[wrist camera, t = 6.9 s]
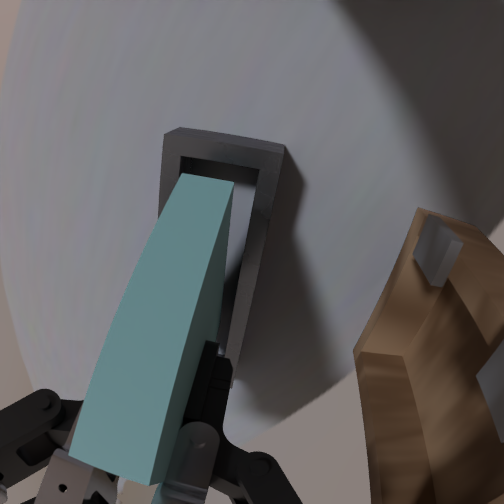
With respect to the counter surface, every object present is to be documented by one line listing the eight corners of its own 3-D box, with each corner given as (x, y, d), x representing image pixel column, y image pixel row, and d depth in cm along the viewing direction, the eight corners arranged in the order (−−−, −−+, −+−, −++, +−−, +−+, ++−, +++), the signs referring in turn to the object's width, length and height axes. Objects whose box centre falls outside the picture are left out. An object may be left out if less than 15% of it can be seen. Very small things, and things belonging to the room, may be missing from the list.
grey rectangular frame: (179, 127, 14) (164, 134, 12) (284, 144, 14) (283, 153, 12) (167, 350, 21) (159, 371, 19) (236, 365, 21) (231, 388, 19)
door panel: (182, 172, 10) (68, 454, 5) (234, 182, 10) (148, 485, 5) (189, 314, 18) (149, 465, 12) (220, 321, 18) (185, 475, 12)
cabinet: (411, 195, 14) (585, 472, 2) (478, 217, 14) (633, 431, 2) (344, 349, 19) (360, 571, 7) (404, 356, 19) (444, 552, 7)
